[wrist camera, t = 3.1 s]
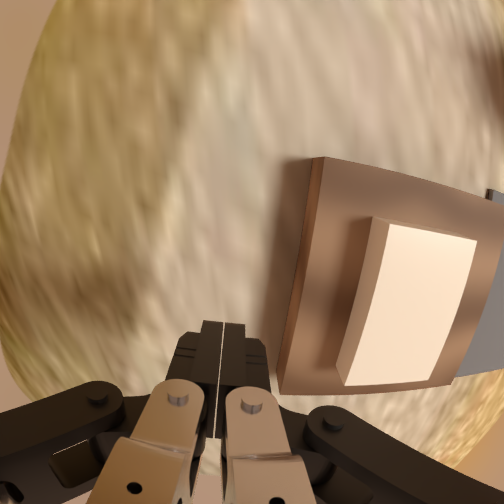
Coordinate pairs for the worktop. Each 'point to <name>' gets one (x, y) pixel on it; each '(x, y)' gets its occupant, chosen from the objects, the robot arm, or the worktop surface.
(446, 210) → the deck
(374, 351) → the cream rectangular block
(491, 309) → the mat
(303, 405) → the worktop surface
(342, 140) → the worktop surface
